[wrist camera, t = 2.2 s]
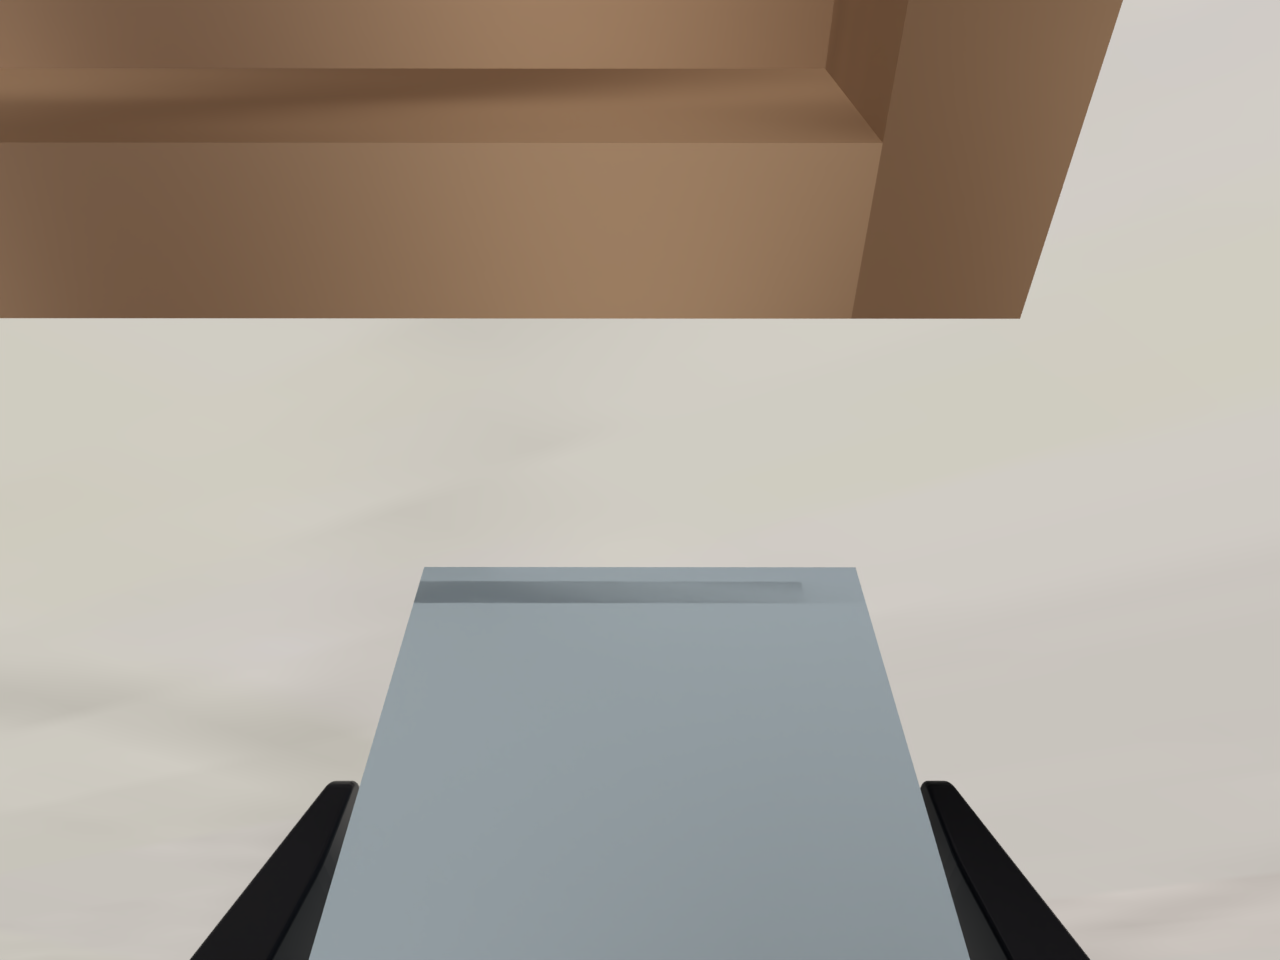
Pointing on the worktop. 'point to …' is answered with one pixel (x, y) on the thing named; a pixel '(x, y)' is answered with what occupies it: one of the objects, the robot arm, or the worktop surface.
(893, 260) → the wooden tray
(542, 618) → the box
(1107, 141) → the worktop surface
